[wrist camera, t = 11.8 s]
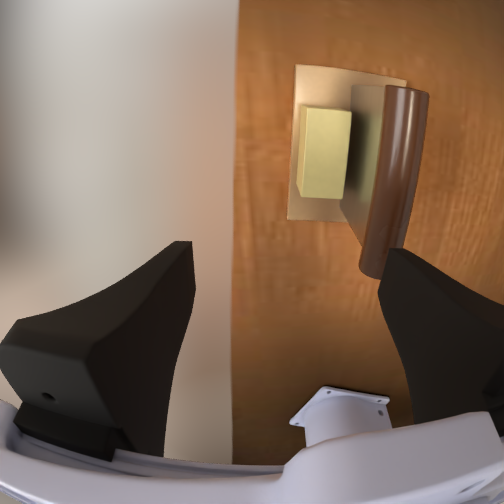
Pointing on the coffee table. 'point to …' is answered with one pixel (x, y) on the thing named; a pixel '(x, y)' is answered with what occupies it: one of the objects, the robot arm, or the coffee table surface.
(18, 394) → the robot arm
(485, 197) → the coffee table surface
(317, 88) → the board
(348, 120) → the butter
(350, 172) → the scraper
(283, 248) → the coffee table surface
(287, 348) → the coffee table surface
